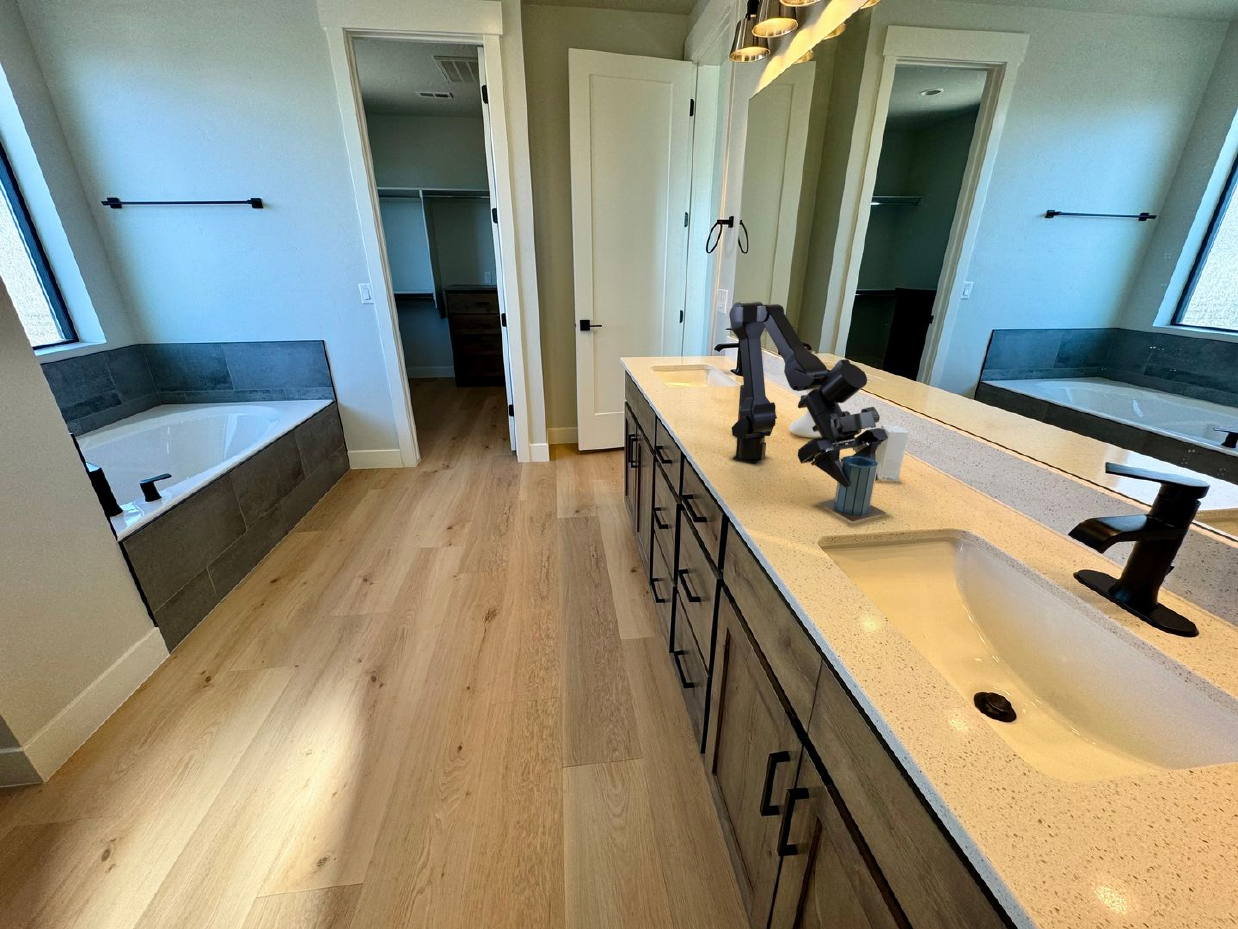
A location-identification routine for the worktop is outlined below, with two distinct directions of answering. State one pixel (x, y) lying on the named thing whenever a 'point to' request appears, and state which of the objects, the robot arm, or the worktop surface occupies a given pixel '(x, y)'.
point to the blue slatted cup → (856, 485)
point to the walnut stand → (851, 517)
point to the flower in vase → (804, 424)
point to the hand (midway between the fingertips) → (861, 483)
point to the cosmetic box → (891, 453)
